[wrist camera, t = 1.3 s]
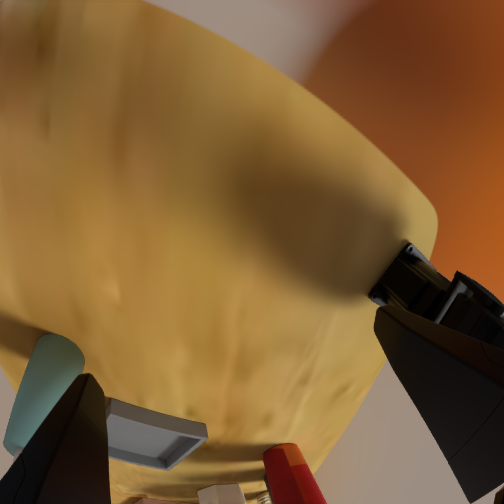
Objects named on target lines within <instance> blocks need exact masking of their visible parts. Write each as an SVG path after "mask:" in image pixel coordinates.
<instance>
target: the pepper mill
mask: <svg viewBox="0 0 504 504" xmlns="http://www.w3.org/2000/svg"><path fill="white" fill-rule="evenodd" d="M84 364H85V358H84V355H83V353H82V351H81V350H80V349H79V348H78V346H77V345H75V344H74V343H73V342H72V341H70V340H69V339H67V338H65V337H63V336H60V335H56V334H46V335H43V336H41V337H40V338H39V339H38V341H37V343H36V345H35V348H34V350H33V352H32V355H31V357H30V360H29V362H28V365H27V368H26V370H25V373H24V376H23V378H22V381H21V384H20V387H19V390H18V393H17V396H16V399H15V402H14V405H13V408H12V412H11V415H10V419H9V422H8V426H7V429H6V434H5V437H4V441H3V445H4V447H5V448H6V450H7V451H9V453H10V454H11V455H13V456H14V461H15V460H16V458H17V457H18V456H19V454H20V453H22V450H23V448H24V447H25V446H26V444H27V443H28V441H29V440H30V438H31V437H32V436H33V434H34V433H35V431H36V430H37V429H38V427H39V426H40V424H41V423H42V422H43V420H44V419H45V418H46V416H47V415H48V414H49V412H50V411H51V410H52V408H53V407H54V406H55V404H56V403H57V402H58V400H59V399H60V398H61V396H62V395H63V394H64V392H65V391H66V390H67V388H68V387H69V386H70V385H71V383H72V382H73V381H74V379H75V378H76V377H77V376H78V375H79V374H82V373H83V368H84ZM14 461H13V462H14Z"/></svg>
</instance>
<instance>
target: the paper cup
mask: <svg viewBox="0 0 504 504" xmlns="http://www.w3.org/2000/svg"><path fill="white" fill-rule="evenodd" d="M263 462H264V466H265V470H266V474H267V479H268V483H269V486H270V490H271V494H272V499H273V503H274V504H327V503H326V501H325V499H324V497H323V495H322V493H321V491H320V489H319V487H318V485H317V483H316V481H315V479H314V477H313V475H312V473H311V471H310V469H309V467H308V465H307V463H306V461H305V459H304V457H303V455H302V453H301V451H300V449H299V448H298V446H297V445H296V444H293V443H287V444H281V445H278V446H275V447H272V448H270V449H268V450H267V451H266V452H264V454H263Z"/></svg>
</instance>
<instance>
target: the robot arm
mask: <svg viewBox="0 0 504 504" xmlns="http://www.w3.org/2000/svg"><path fill="white" fill-rule="evenodd" d="M369 298H370V299H371V300H372V301H373V302H375V303H376V304H378V305H379V306H381V307H379V308H378V309H377V311H376V316H375V322H374V332H375V335H376V337H377V339H378V341H379V343H380V345H381V347H382V349H383V351H384V353H385V355H386V357H387V359H388V361H389V363H390V365H391V367H392V368H393V370H394V372H395V374H396V375H397V377H398V379H399V380H400V381H401V383H402V385H403V386H404V388H405V390H406V391H407V393H408V395H409V396H410V398H411V399H412V401H413V403H414V404H415V406H416V408H417V409H418V411H419V413H420V414H421V416H422V418H423V420H424V421H425V423H426V425H427V426H428V428H429V430H430V431H431V433H432V435H433V437H434V438H435V440H436V442H437V444H438V445H439V447H440V449H441V451H442V452H443V454H444V456H445V458H446V460H447V461H448V464H449V465H450V467H451V469H452V471H453V473H454V475H455V477H456V478H457V480H458V482H459V484H460V486H461V488H462V490H463V492H464V494H465V495H466V498H467V500H468V501H469V503H470V504H471V503H473V502H475V501H476V500H478V499H480V498H481V497H483V496H484V495H486V494H488V493H489V492H490V491H492V490H494V489H495V488H497V487H498V486H500V485H501V484H502V483H504V304H503V303H502V302H501V301H500V300H499V299H498V298H497V297H496V296H494V294H492V293H491V292H490V291H489V290H487V289H486V288H485V287H483V286H482V285H481V284H479V283H478V282H476V281H475V280H473V279H471V278H469V277H468V276H466V275H464V274H463V273H461V272H459V271H456V273H455V275H454V278H453V280H452V282H450V281H449V280H448V279H447V278H445V277H444V276H443V275H441V274H440V273H439V272H437V271H436V269H435V268H434V266H433V265H432V264H431V263H430V262H429V261H428V260H427V259H426V257H425V256H424V255H423V254H422V253H421V252H420V251H419V250H418V249H417V248H416V247H415V246H414V245H413V244H412V243H408V244H406V246H405V247H404V248H403V250H402V251H401V253H400V254H399V255H398V257H397V258H396V259H395V261H394V262H393V263H392V265H391V266H390V267H389V269H388V270H387V271H386V273H385V274H384V275H383V276H382V278H381V279H380V280H379V282H378V283H377V284H376V285H375V287H374V288H373V289H372V290H371V292H370V293H369ZM0 504H111V497H110V482H109V458H108V431H107V421H106V410H105V396H104V392H103V390H102V388H101V387H100V385H99V384H98V382H97V381H96V379H95V378H94V376H93V375H92V374H90V373H84V374H79V375H78V376H77V377H76V378H75V379H74V381H73V382H72V383H71V385H70V386H69V387H68V388H67V390H66V391H65V392H64V394H63V395H62V396H61V398H60V399H59V400H58V402H57V403H56V404H55V406H54V407H53V408H52V410H51V411H50V412H49V414H48V415H47V416H46V418H45V419H44V420H43V422H42V423H41V424H40V426H39V427H38V429H37V430H36V431H35V433H34V434H33V436H32V437H31V438H30V440H29V441H28V443H27V444H26V446H25V447H24V448H23V450H22V453H20V454H19V456H18V457H17V458H16V460H15V461H14V463H13V464H12V466H11V467H10V468H9V470H8V471H7V473H6V474H5V475H4V476H3V478H2V479H1V480H0ZM494 504H504V486H503V487H502V488H501V489H500V490H499V491H498V492H497V493H496V495H495V500H494Z"/></svg>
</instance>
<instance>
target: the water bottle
mask: <svg viewBox="0 0 504 504" xmlns="http://www.w3.org/2000/svg"><path fill="white" fill-rule="evenodd" d="M257 503H258V504H272V502H271V499H270V496H269V493H268V491H267V492H264V493H261V494H259V495H258V496H257Z"/></svg>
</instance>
